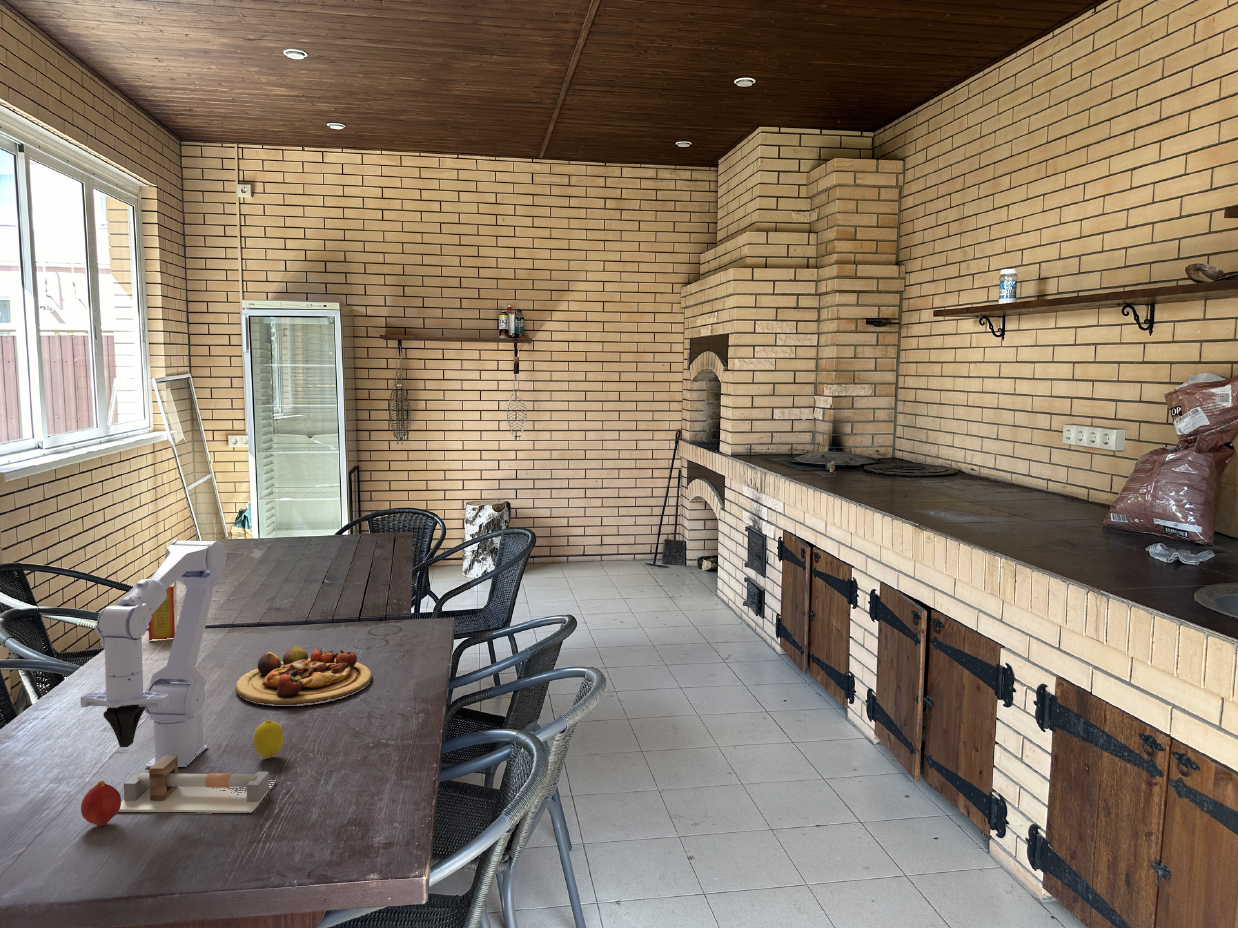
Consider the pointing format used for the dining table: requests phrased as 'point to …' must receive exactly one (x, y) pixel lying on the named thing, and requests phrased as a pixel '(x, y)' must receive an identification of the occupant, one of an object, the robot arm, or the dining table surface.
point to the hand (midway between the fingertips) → (126, 744)
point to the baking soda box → (165, 617)
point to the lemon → (268, 738)
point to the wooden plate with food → (303, 677)
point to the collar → (162, 777)
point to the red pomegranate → (101, 804)
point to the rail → (197, 793)
